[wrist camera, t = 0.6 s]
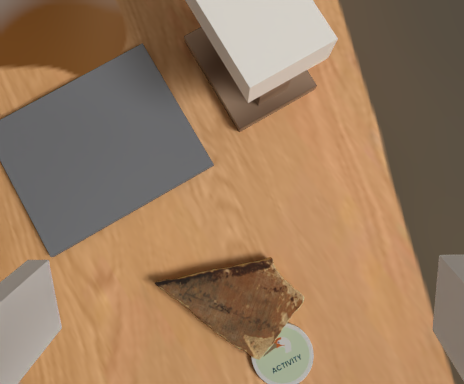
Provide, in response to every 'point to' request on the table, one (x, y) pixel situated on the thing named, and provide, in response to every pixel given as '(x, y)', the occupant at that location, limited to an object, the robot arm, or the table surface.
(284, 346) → the sign
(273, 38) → the card box
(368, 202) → the table surface
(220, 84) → the walnut stand
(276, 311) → the shard
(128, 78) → the rubber mat
